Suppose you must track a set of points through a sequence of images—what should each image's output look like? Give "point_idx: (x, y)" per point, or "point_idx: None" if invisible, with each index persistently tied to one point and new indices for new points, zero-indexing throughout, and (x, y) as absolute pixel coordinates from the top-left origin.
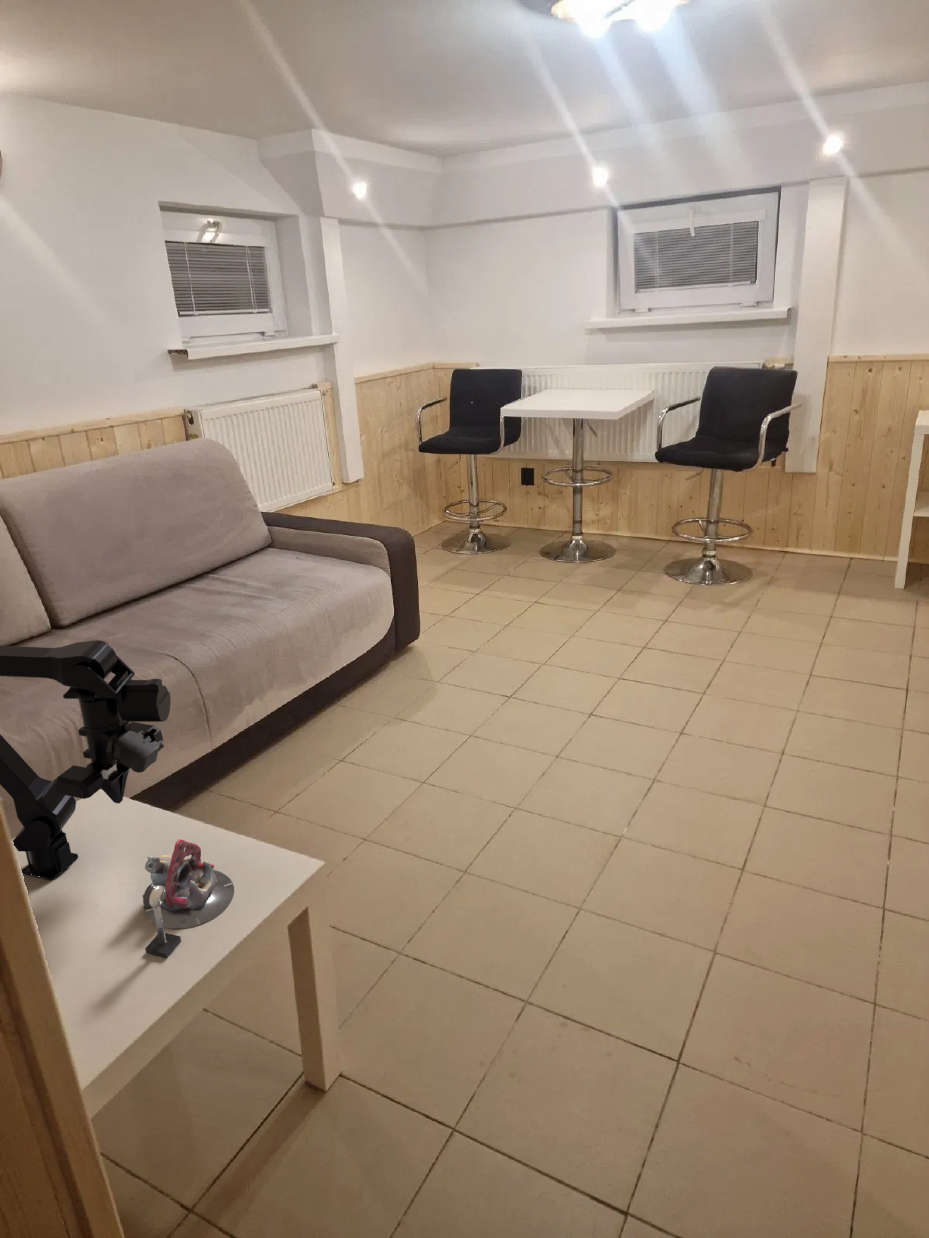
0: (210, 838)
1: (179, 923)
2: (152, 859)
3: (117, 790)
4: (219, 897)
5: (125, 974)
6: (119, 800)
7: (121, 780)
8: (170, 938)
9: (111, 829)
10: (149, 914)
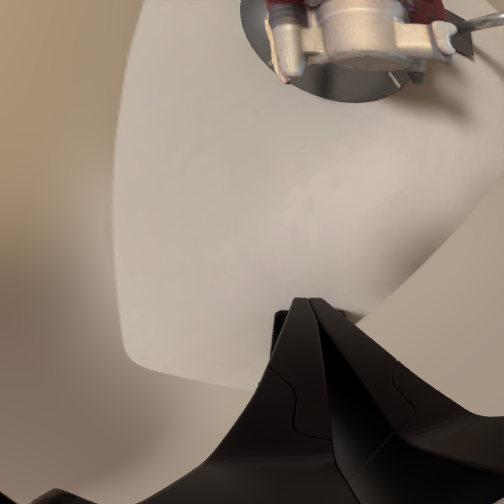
0: (134, 78)
1: None
2: (450, 38)
3: (375, 355)
4: None
5: (494, 76)
6: (324, 305)
7: (326, 406)
8: (446, 19)
9: (181, 304)
10: (403, 76)
